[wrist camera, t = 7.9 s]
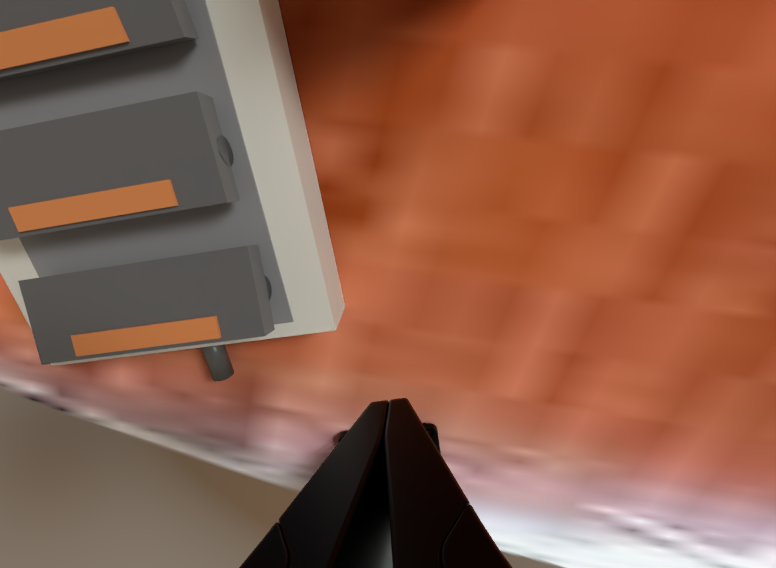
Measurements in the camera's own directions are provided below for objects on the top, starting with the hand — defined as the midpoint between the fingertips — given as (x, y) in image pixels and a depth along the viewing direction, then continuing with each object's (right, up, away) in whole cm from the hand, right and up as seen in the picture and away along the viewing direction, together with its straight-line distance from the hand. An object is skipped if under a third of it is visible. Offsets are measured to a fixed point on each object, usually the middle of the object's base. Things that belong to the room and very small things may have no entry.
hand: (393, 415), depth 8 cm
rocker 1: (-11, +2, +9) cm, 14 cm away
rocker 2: (-12, +8, +7) cm, 16 cm away
